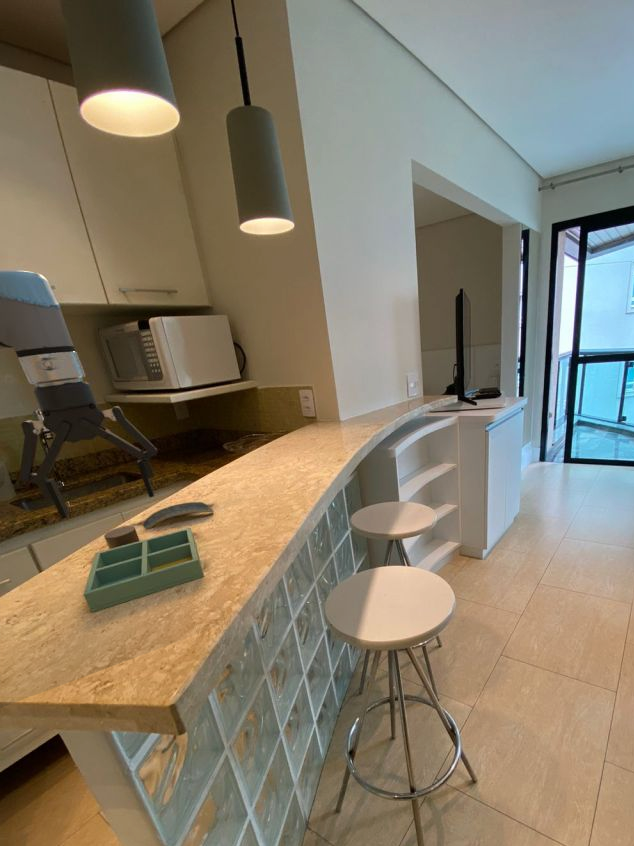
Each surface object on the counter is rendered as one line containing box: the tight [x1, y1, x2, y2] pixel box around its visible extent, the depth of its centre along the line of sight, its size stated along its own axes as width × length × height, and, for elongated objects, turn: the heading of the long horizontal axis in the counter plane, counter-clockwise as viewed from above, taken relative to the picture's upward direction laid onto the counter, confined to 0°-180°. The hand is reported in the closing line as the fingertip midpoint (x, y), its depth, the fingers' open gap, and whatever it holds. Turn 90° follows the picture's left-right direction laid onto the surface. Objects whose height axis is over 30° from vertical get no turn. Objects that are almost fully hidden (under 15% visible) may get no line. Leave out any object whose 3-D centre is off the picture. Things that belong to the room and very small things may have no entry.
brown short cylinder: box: [103, 525, 141, 550], centre depth 76 cm, size 5×5×4 cm
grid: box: [83, 527, 205, 613], centre depth 67 cm, size 15×15×3 cm
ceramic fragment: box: [142, 501, 215, 530], centre depth 89 cm, size 14×5×4 cm, turn 109°
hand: (110, 505), depth 74 cm, fingers open, 13 cm apart
